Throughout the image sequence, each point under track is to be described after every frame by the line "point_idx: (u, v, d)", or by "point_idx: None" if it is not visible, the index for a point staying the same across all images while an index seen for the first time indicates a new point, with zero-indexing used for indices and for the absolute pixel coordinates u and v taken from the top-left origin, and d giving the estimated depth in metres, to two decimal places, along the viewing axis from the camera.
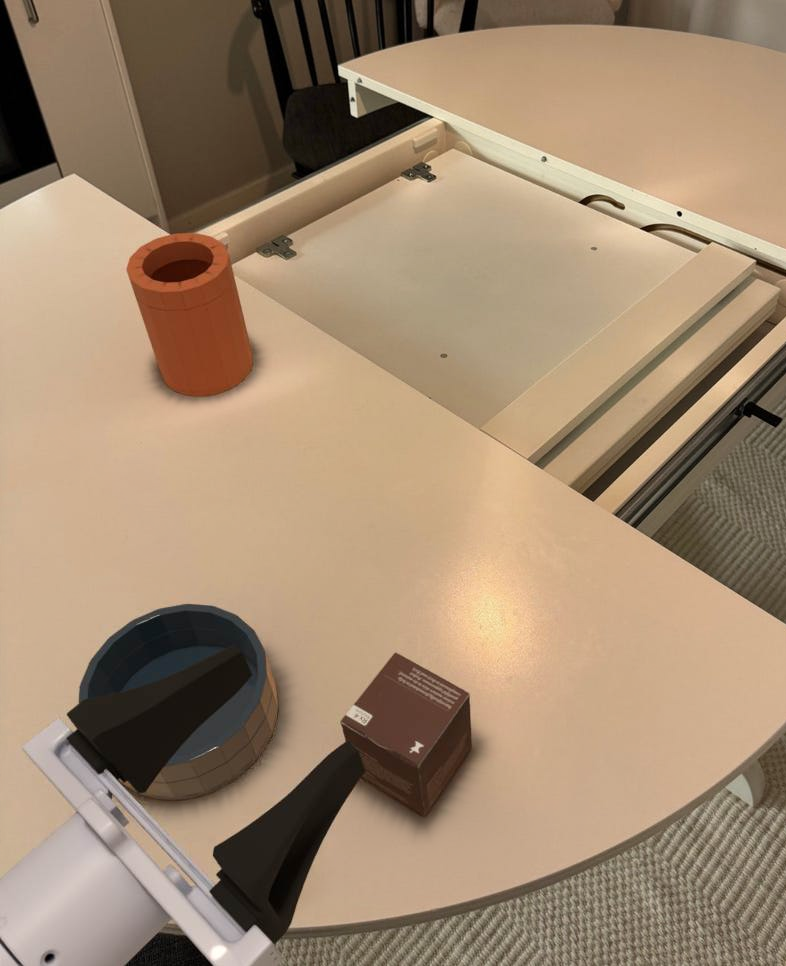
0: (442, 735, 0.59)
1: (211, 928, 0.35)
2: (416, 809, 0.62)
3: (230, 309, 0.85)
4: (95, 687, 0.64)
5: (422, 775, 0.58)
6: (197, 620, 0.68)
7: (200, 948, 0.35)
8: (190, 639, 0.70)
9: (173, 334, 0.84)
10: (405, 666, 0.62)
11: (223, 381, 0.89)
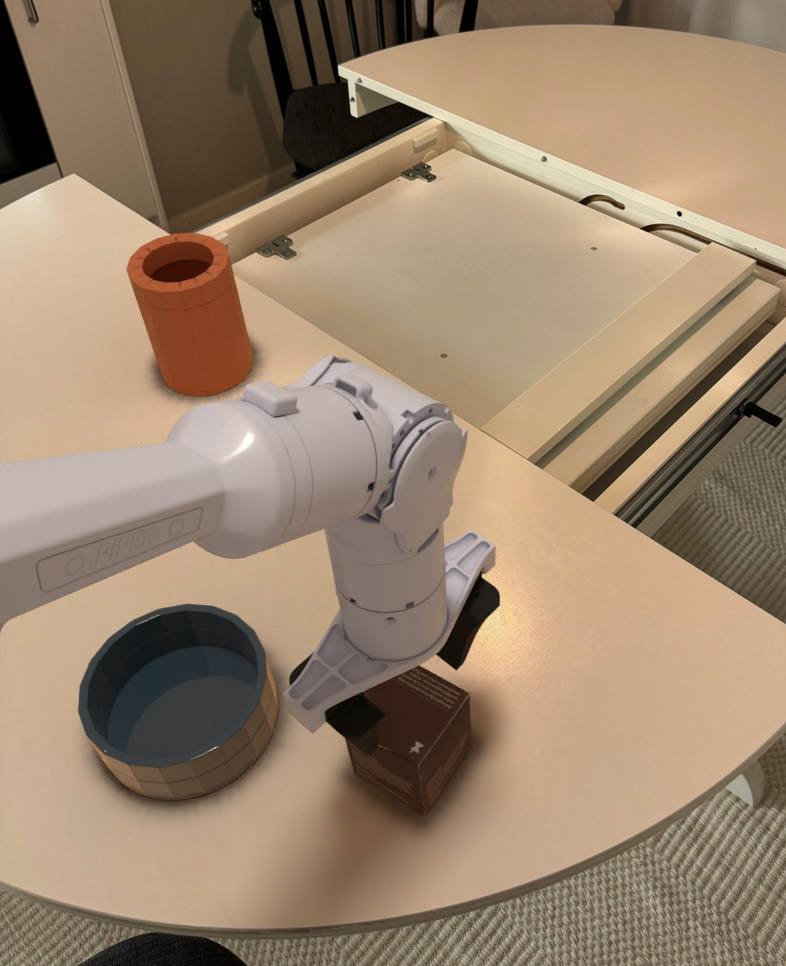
0: (442, 735, 0.59)
1: None
2: (416, 809, 0.62)
3: (230, 309, 0.85)
4: (95, 687, 0.64)
5: (422, 775, 0.58)
6: (197, 620, 0.68)
7: None
8: (190, 639, 0.70)
9: (173, 334, 0.84)
10: None
11: (223, 381, 0.89)
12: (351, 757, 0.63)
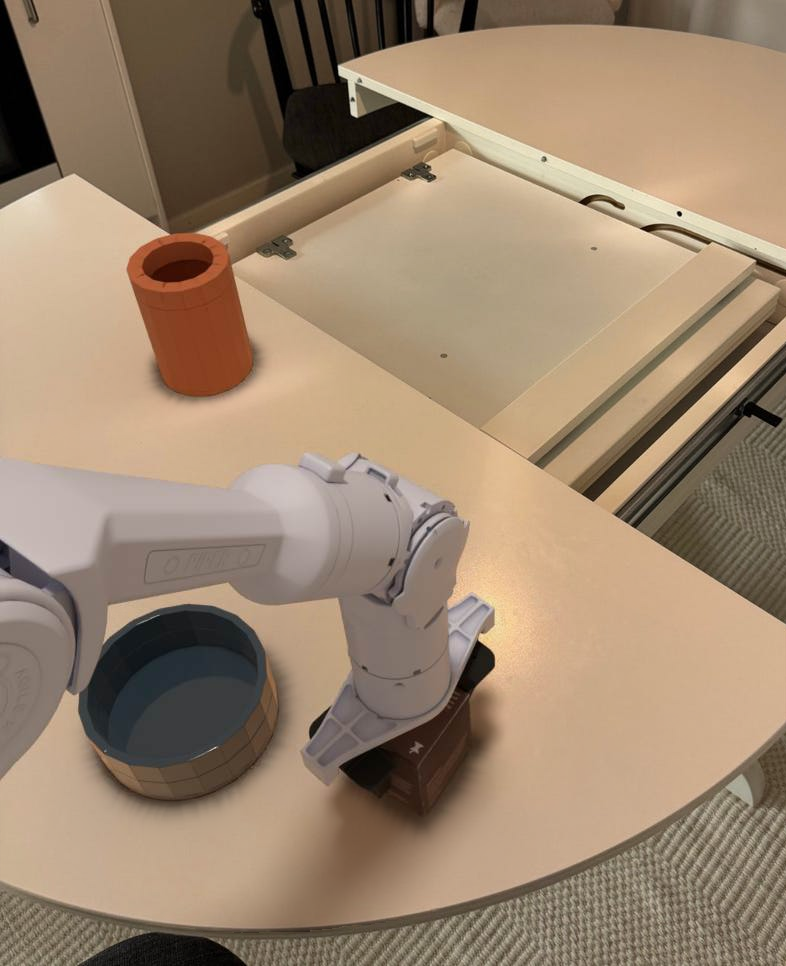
0: (441, 735, 0.59)
1: None
2: (416, 809, 0.62)
3: (230, 309, 0.85)
4: (95, 687, 0.64)
5: (422, 775, 0.58)
6: (197, 620, 0.68)
7: (450, 606, 0.60)
8: (190, 639, 0.70)
9: (173, 334, 0.84)
10: None
11: (223, 381, 0.89)
12: None
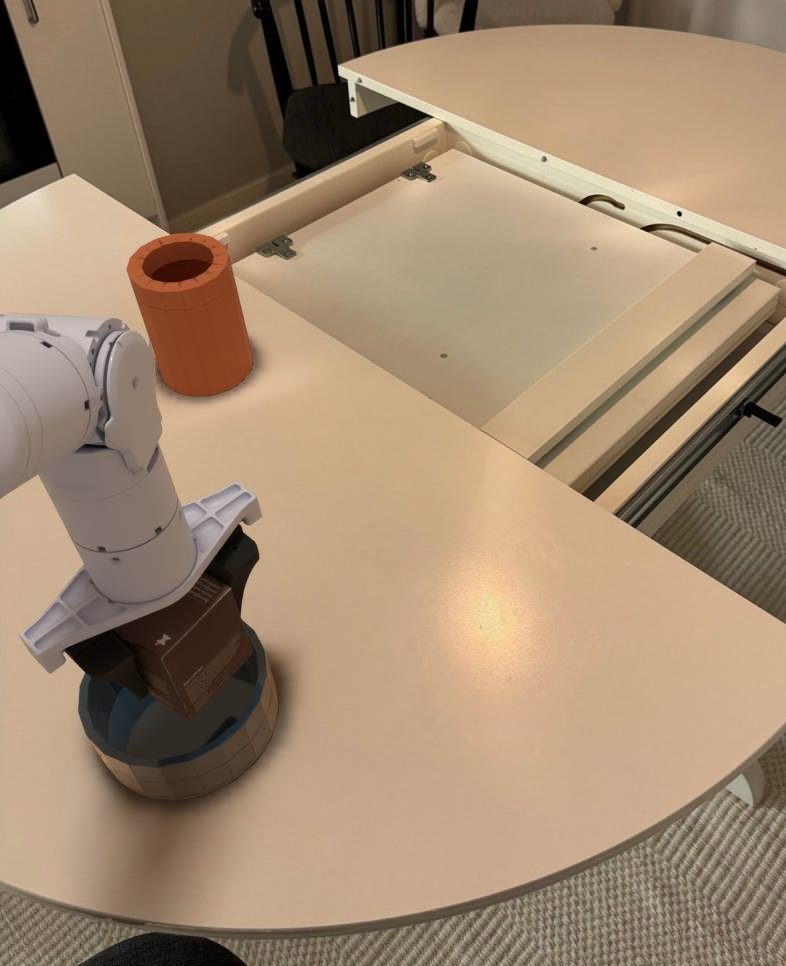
0: (193, 628, 0.55)
1: None
2: (181, 713, 0.59)
3: (230, 309, 0.85)
4: (95, 687, 0.64)
5: (171, 670, 0.55)
6: None
7: (210, 494, 0.57)
8: None
9: (173, 334, 0.84)
10: None
11: (223, 381, 0.89)
12: None
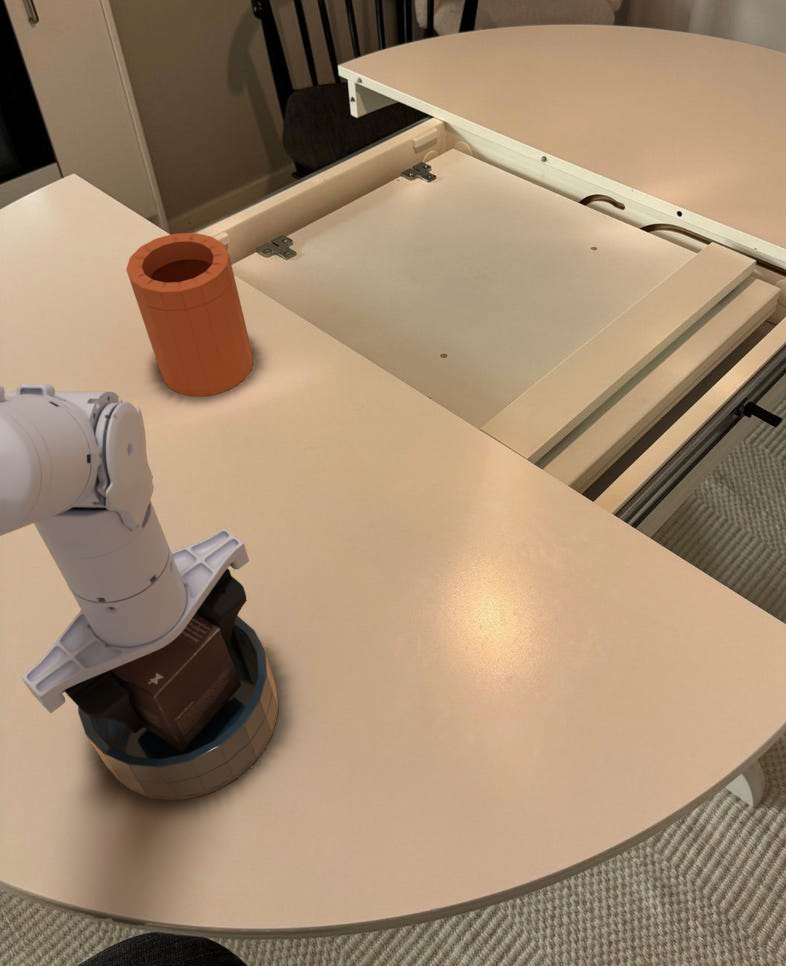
0: (184, 667, 0.59)
1: None
2: (173, 745, 0.62)
3: (230, 309, 0.85)
4: None
5: (163, 707, 0.59)
6: None
7: None
8: None
9: (173, 334, 0.84)
10: None
11: (223, 381, 0.89)
12: None
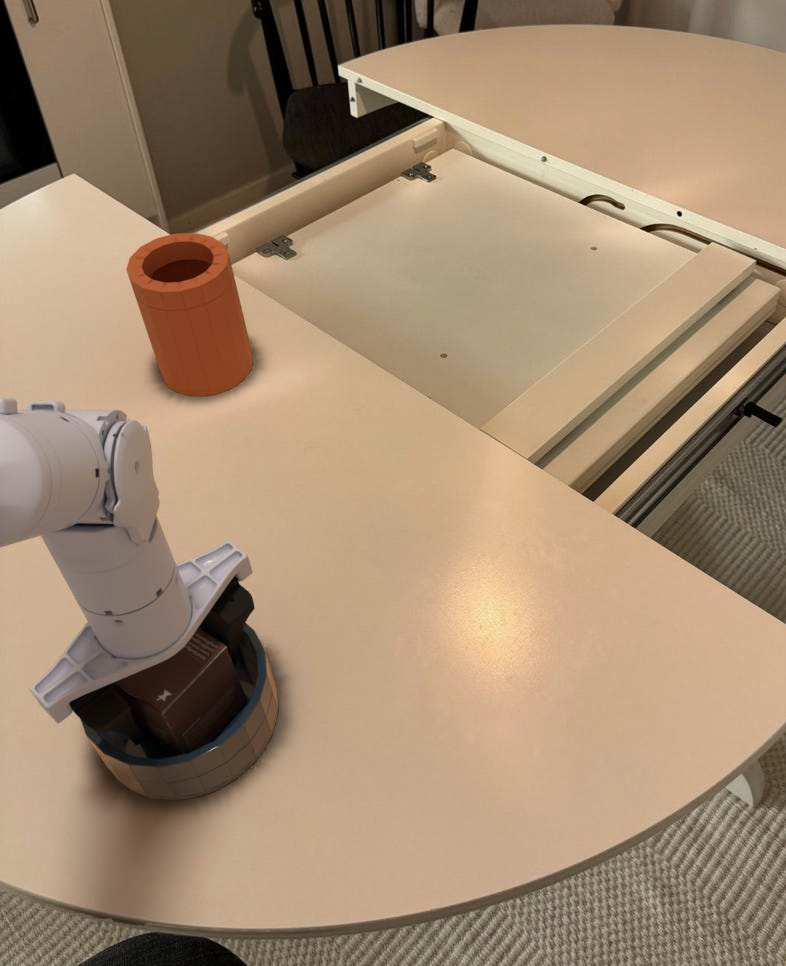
0: (191, 685, 0.60)
1: None
2: None
3: (230, 309, 0.85)
4: None
5: (171, 723, 0.60)
6: None
7: None
8: None
9: (173, 334, 0.84)
10: None
11: (223, 381, 0.89)
12: None
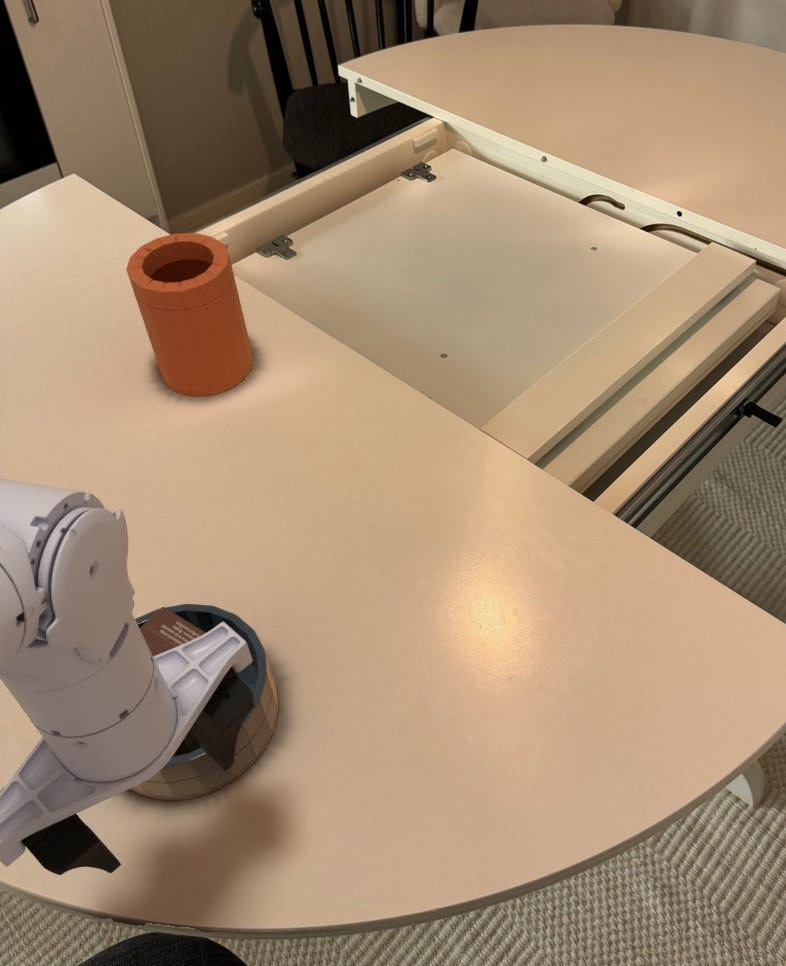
0: None
1: None
2: None
3: (230, 309, 0.85)
4: None
5: None
6: (197, 620, 0.68)
7: None
8: None
9: (173, 334, 0.84)
10: (169, 620, 0.64)
11: (223, 381, 0.89)
12: None
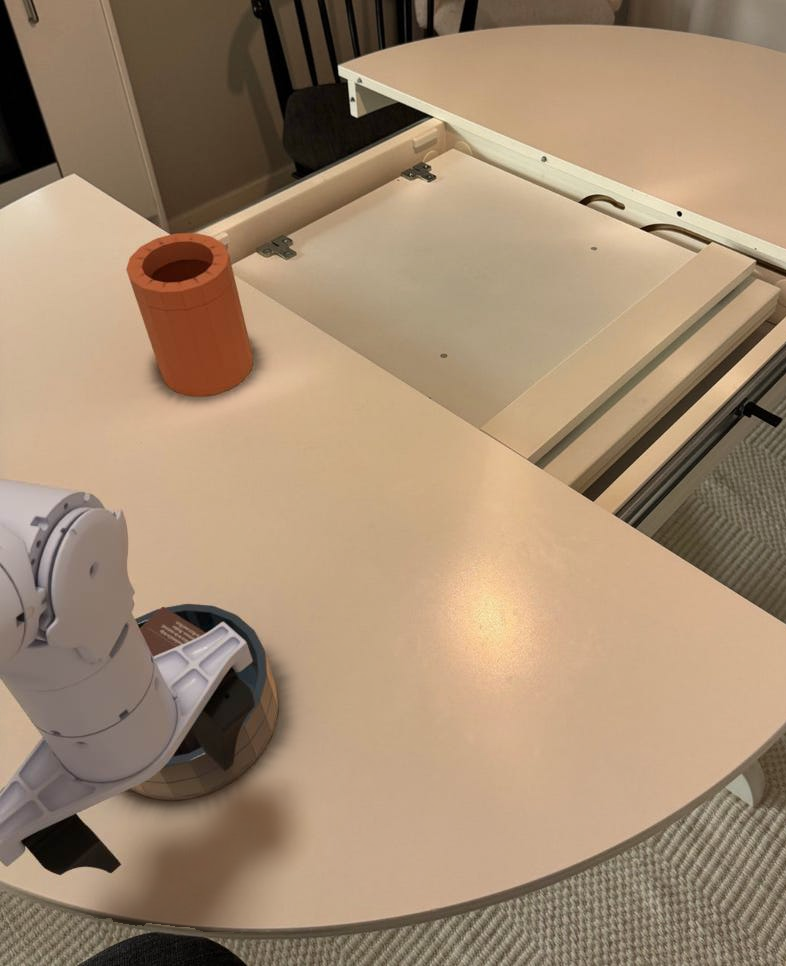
0: None
1: None
2: None
3: (230, 309, 0.85)
4: None
5: None
6: (197, 620, 0.68)
7: None
8: None
9: (173, 334, 0.84)
10: (169, 620, 0.64)
11: (223, 381, 0.89)
12: None
